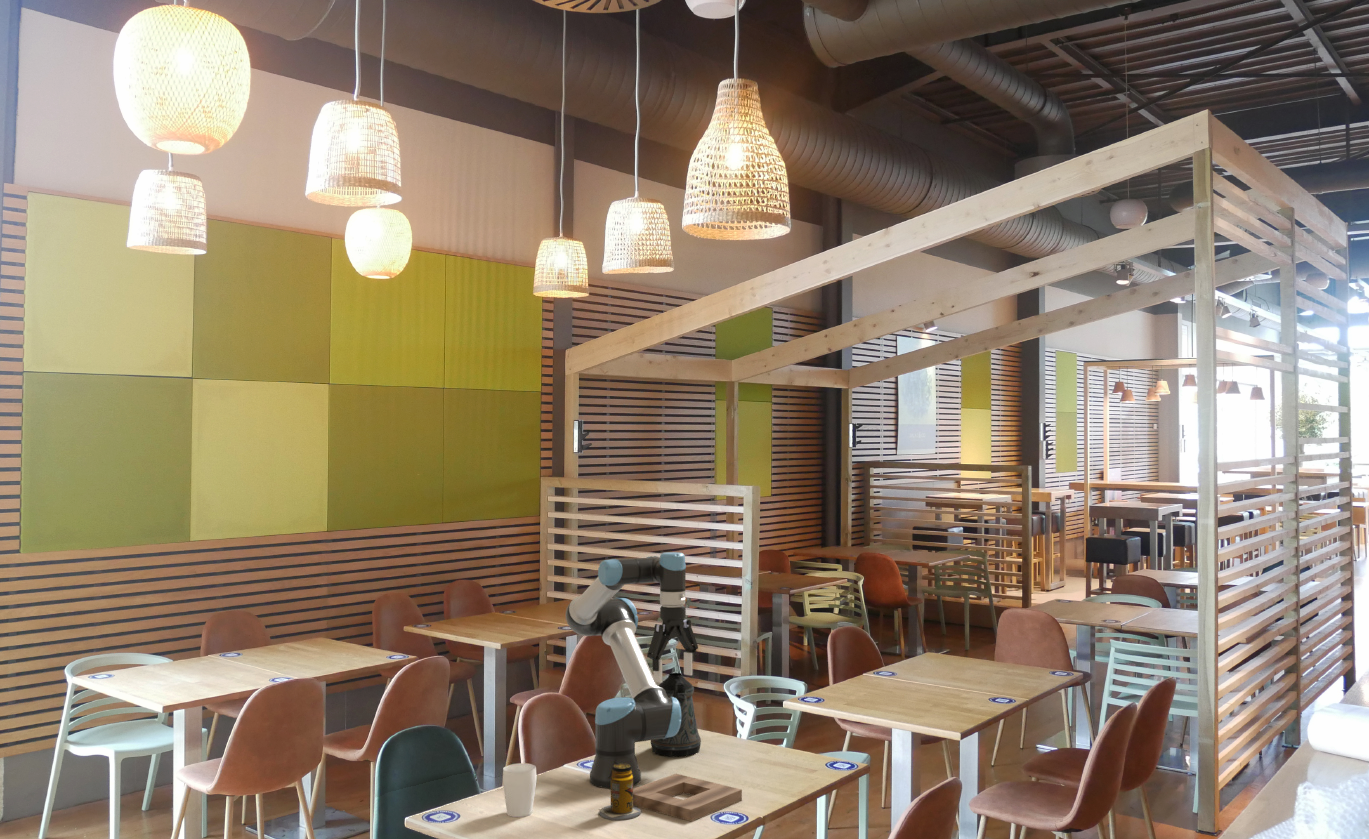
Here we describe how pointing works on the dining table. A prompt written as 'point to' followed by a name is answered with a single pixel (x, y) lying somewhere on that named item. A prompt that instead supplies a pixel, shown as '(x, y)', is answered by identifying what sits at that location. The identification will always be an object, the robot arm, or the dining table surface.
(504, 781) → the cup
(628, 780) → the condiment
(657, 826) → the dining table surface
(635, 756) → the robot arm
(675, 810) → the holder board
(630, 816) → the coaster
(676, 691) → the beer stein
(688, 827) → the dining table surface
